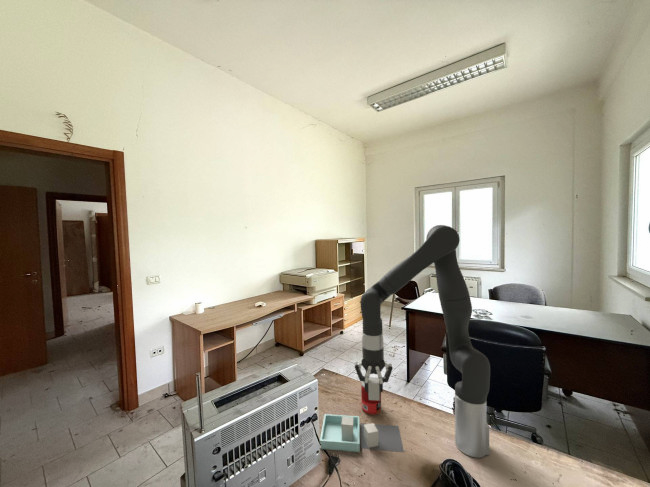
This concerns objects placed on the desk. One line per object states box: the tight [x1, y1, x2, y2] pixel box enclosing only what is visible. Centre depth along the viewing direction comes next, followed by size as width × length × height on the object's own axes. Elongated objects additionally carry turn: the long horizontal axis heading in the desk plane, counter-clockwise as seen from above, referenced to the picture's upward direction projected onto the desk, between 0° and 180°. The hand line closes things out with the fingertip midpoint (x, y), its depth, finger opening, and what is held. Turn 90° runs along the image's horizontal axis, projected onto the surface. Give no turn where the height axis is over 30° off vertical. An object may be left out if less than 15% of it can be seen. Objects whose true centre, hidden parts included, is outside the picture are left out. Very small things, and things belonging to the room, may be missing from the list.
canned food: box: [360, 381, 382, 416], centre depth 107 cm, size 8×8×11 cm
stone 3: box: [364, 422, 378, 448], centre depth 90 cm, size 4×4×5 cm
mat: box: [359, 422, 405, 453], centre depth 92 cm, size 14×12×1 cm
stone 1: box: [341, 416, 354, 442], centre depth 92 cm, size 4×4×6 cm
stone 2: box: [368, 376, 380, 401], centre depth 95 cm, size 4×4×6 cm
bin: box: [319, 413, 361, 453], centre depth 93 cm, size 13×13×3 cm
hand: (373, 391), depth 94 cm, fingers closed on stone 2, 3 cm apart
